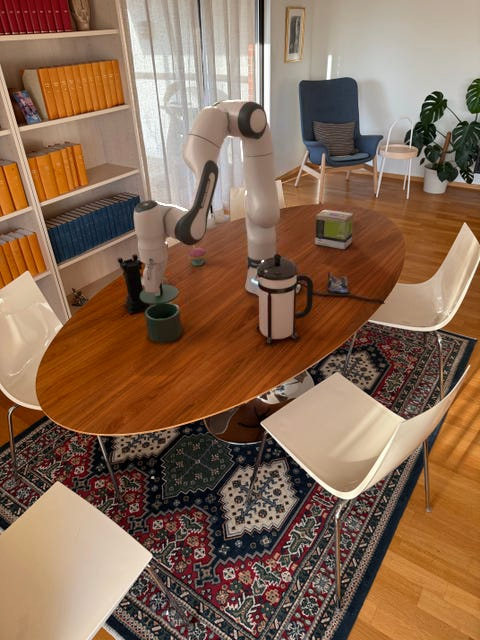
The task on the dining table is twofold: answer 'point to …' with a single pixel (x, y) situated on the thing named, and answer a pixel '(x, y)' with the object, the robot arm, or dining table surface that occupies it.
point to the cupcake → (197, 256)
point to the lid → (166, 295)
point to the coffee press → (280, 297)
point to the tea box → (334, 229)
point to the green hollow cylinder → (163, 322)
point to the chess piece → (133, 284)
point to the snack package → (337, 284)
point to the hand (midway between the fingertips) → (159, 291)
